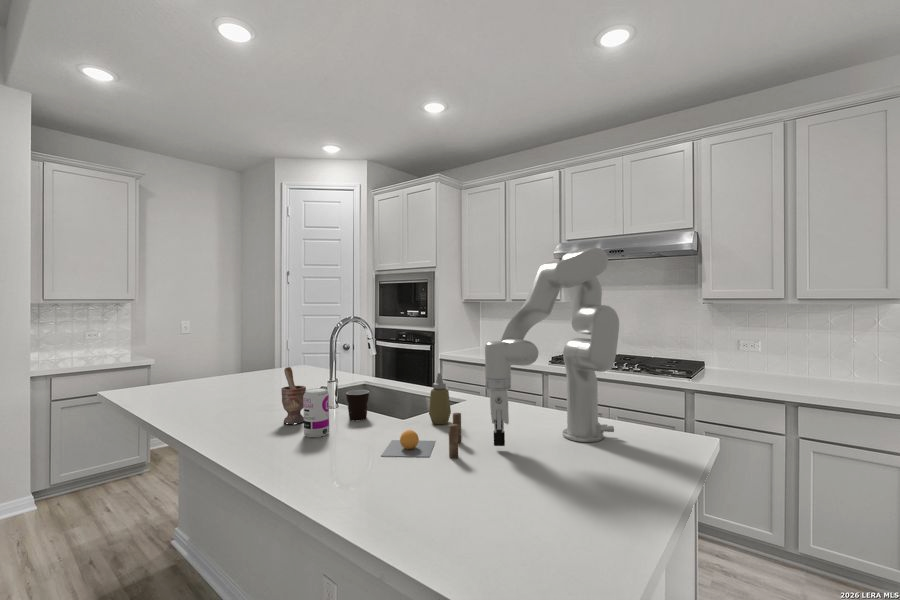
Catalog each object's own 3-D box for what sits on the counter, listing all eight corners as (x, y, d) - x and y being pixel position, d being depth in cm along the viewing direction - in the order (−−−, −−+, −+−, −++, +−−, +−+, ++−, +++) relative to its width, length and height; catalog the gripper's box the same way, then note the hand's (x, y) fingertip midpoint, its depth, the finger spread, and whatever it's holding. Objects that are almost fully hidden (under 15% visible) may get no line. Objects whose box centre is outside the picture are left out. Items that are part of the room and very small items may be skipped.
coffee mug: (364, 422, 161) (363, 395, 161) (342, 421, 163) (342, 394, 163) (375, 413, 172) (375, 388, 172) (355, 413, 174) (355, 388, 174)
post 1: (461, 441, 137) (461, 412, 137) (461, 443, 135) (460, 414, 135) (453, 440, 138) (453, 412, 138) (452, 443, 135) (452, 414, 135)
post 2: (458, 455, 125) (458, 424, 125) (458, 458, 122) (457, 426, 122) (449, 455, 125) (449, 423, 125) (448, 458, 122) (448, 426, 123)
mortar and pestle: (271, 422, 162) (270, 369, 162) (291, 417, 170) (290, 366, 170) (291, 426, 156) (291, 371, 156) (311, 421, 164) (310, 368, 164)
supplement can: (332, 431, 150) (332, 387, 150) (323, 438, 142) (322, 393, 142) (310, 430, 151) (309, 387, 151) (299, 438, 143) (299, 392, 143)
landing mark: (435, 441, 138) (435, 440, 138) (429, 457, 124) (429, 456, 124) (392, 440, 139) (392, 440, 139) (380, 456, 125) (380, 455, 125)
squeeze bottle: (441, 427, 153) (441, 376, 153) (424, 423, 158) (423, 374, 158) (455, 421, 159) (454, 372, 159) (438, 418, 164) (437, 370, 164)
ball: (398, 439, 134) (414, 449, 134) (394, 445, 128) (411, 455, 128) (407, 424, 134) (423, 433, 133) (404, 429, 128) (420, 439, 128)
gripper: (512, 388, 121) (513, 454, 121) (509, 378, 136) (510, 437, 136) (485, 388, 122) (486, 453, 122) (485, 378, 137) (486, 437, 137)
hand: (499, 444), depth 129 cm, fingers closed
